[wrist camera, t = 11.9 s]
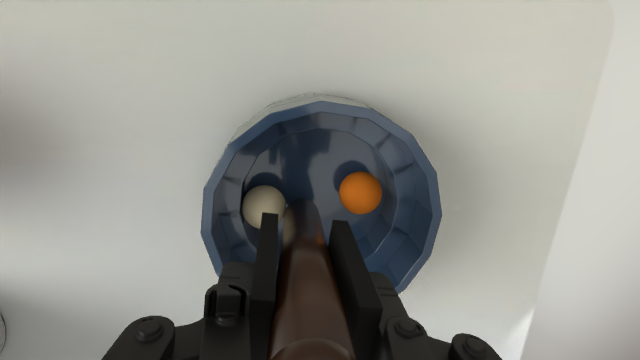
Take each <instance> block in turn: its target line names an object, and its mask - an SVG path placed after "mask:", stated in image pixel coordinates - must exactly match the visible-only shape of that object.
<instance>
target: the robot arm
mask: <svg viewBox="0 0 640 360" xmlns="http://www.w3.org/2000/svg"><path fill="white" fill-rule="evenodd" d="M277 241H278V214H275V213H265V212H262V218H261V225H260V232H259V239H258V246H257V253H256V260H255V263H249V262H237V261H229V262H228V263H227V264H226V265H225V266H224V267H223V268H222V271H221V274H220V277H219V281H218V284H216V285H213V286H212V287H210V288H209V289H208V290H207V292H206V294H205V305H204V318H202V319H201V320H199V321H197V322H195V323H192V324H188V325H184V326H178V327H175V326H174V323H173V322H172V321H171V320H170V319H168V318H166V317H162V316H147V317H143V318H140V319H138V320H136V321H134V322H132V323H131V324H130V325H129V326H127V327H126V328H125V329H124V331H123V332H122V333H121V335H120V336H119V337H118V339H117V340H116V341H115V342H114V344H113V345H112V346H111V348H110V349H109V350H108V352H107V353H106V354H105V355H104V357H103V358H102V359H101V360H266V357H267V350H268V342H269V334H270V326H271V323H272V320H273V314H274V307H275V296H276V268H277ZM328 250H329V254H330V258H331V262H332V266H333V270H334V274H335V278H336V281H337V285H338V289H339V293H340V297H341V301H342V305H343V309H344V313H345V317H346V321H347V325H348V329H349V333H350V337H351V340H352V344H353V348H354V352H355V356H356V360H502V359H501V358H500V357H499V355H498V354H497V353H496V352H495V351H494V350H493V348H492V347H491V346H489V345H488V344H487V343H486V342H485V341H483V340H482V339H480V338H478V337H476V336H473V335H470V334H464V333H461V334H456V335H455V336H454V337H453V339H452V342H451V343H448V342H444V341H441V340H437V339H434V338H432V337H429V336H428V335H427V332H426V331H425V329H424V327H423V326H422V325H421V324H419V323H418V322H417V321H415V320H413V319H412V318H409V316H408V314H407V312H406V310H405V308H404V306H403V304H402V302H401V300H400V298H399V297H398V294H397V292H396V290H395V288H394V286H393V284H392V282H391V280H390V279H389V278H388V277H387V276H385V275H384V274H383V273H379V272H368V269H367V267H366V264H365V262H364V260H363V257H362V255H361V252H360V250H359V247H358V245H357V242H356V240H355V237H354V235H353V232H352V230H351V227H350V225H349V223H348V221H342V220H333V221H332V226H331V232H330V237H329V243H328Z"/></svg>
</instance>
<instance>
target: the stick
mask: <svg viewBox="0 0 640 360" xmlns="http://www.w3.org/2000/svg"><path fill="white" fill-rule="evenodd" d="M266 360H356V356H355V352H354V348H353V344H352V340H351V337H350V333H349V329H348V325H347V321H346V317H345V313H344V309H343V305H342V301H341V297H340V293H339V289H338V285H337V281H336V278H335V274H334V270H333V266H332V262H331V258H330V254H329V250H328V246H327V242H326V238H325V234H324V230H323V226H322V222H321V219H320V215H319V211H318V208H317V206H316V205H315V204H314V203H313V202H312V201H310V200H308V199H304V198H300V199H296V200H294V201H292V202H291V203H290V204H289V205H288V206H287V208H286V210H285V215H284V223H283V230H282V238H281V246H280V254H279V262H278V270H277V278H276V296H275V307H274V314H273V320H272V323H271V326H270V334H269V342H268V350H267V357H266Z"/></svg>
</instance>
